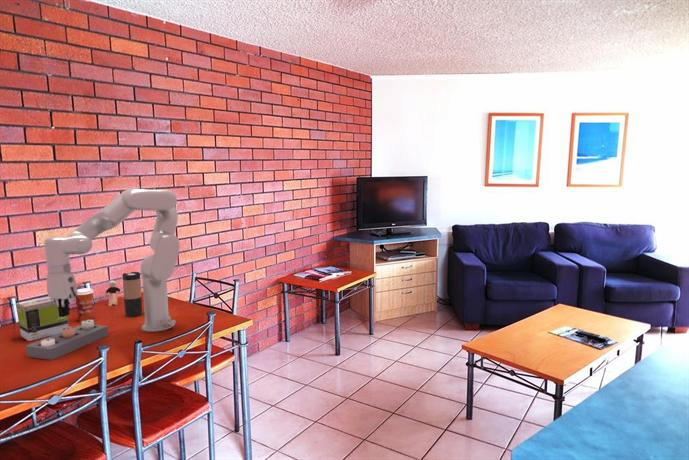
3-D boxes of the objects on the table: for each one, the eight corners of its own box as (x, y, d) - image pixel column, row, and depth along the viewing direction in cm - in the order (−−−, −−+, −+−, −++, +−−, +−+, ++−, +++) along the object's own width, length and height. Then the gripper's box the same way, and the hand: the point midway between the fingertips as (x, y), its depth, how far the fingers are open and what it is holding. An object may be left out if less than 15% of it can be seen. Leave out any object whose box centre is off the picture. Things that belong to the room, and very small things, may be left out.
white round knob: (58, 349, 172) (57, 338, 171) (48, 353, 168) (47, 342, 167) (49, 347, 173) (48, 337, 173) (38, 352, 169) (37, 341, 169)
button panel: (108, 335, 190) (107, 326, 189) (51, 360, 165) (50, 349, 165) (85, 332, 193) (84, 323, 193) (26, 356, 169) (25, 345, 168)
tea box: (60, 327, 201) (57, 294, 199) (69, 331, 195) (66, 298, 193) (19, 336, 189) (16, 301, 187) (28, 342, 183) (24, 306, 181)
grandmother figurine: (107, 307, 230) (105, 282, 229) (104, 305, 233) (103, 281, 231) (123, 304, 235) (121, 279, 234) (120, 302, 238) (119, 278, 237)
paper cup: (81, 323, 205) (78, 293, 203) (73, 320, 210) (71, 290, 208) (99, 319, 211) (96, 289, 210) (91, 315, 216) (89, 286, 214)
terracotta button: (78, 337, 180) (77, 326, 180) (68, 340, 176) (68, 330, 176) (69, 335, 182) (68, 325, 181) (59, 339, 177) (59, 329, 177)
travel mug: (138, 317, 213) (135, 275, 211) (121, 317, 214) (119, 275, 211) (145, 312, 221) (143, 271, 219) (129, 312, 221) (127, 271, 219)
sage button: (96, 329, 189) (96, 319, 188) (88, 333, 185) (87, 323, 184) (88, 328, 190) (87, 318, 190) (79, 332, 186) (78, 322, 185)
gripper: (83, 267, 175) (88, 313, 178) (52, 266, 179) (57, 311, 182) (66, 272, 168) (71, 320, 171) (34, 270, 172) (40, 317, 175)
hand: (64, 315), depth 176 cm, fingers closed
